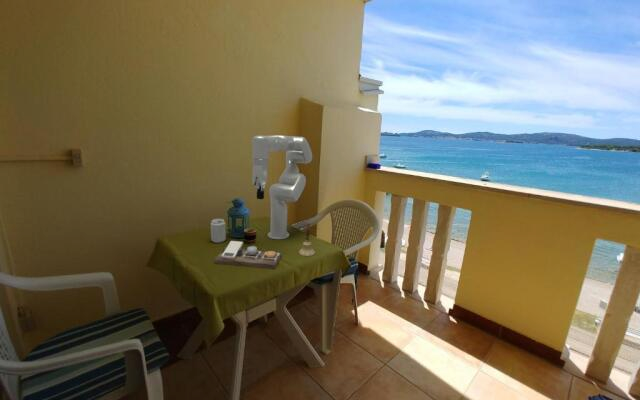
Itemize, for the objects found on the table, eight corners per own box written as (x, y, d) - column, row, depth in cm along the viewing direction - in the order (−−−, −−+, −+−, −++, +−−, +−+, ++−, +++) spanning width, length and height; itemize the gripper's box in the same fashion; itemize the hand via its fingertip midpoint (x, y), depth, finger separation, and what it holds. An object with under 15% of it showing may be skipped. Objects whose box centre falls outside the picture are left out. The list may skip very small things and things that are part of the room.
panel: (226, 251, 132) (226, 242, 131) (281, 256, 130) (281, 247, 129) (214, 263, 120) (213, 253, 118) (274, 268, 118) (274, 259, 116)
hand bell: (295, 253, 135) (296, 223, 131) (305, 248, 142) (306, 220, 138) (308, 257, 130) (309, 227, 127) (317, 252, 137) (319, 223, 133)
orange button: (267, 255, 126) (267, 250, 125) (276, 255, 126) (276, 251, 125) (264, 259, 122) (264, 254, 121) (274, 260, 121) (274, 255, 121)
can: (220, 244, 140) (220, 222, 138) (208, 242, 142) (207, 221, 139) (228, 239, 148) (227, 218, 145) (216, 237, 149) (215, 217, 146)
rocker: (231, 242, 130) (230, 240, 129) (243, 243, 129) (242, 241, 129) (221, 257, 120) (221, 255, 120) (234, 259, 120) (234, 256, 119)
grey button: (249, 250, 126) (249, 245, 126) (258, 251, 126) (258, 246, 125) (245, 254, 122) (245, 249, 121) (255, 255, 122) (255, 250, 121)
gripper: (257, 160, 135) (257, 195, 139) (247, 163, 120) (247, 201, 125) (272, 161, 134) (271, 196, 139) (263, 164, 120) (263, 202, 124)
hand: (260, 198), depth 132 cm, fingers closed
